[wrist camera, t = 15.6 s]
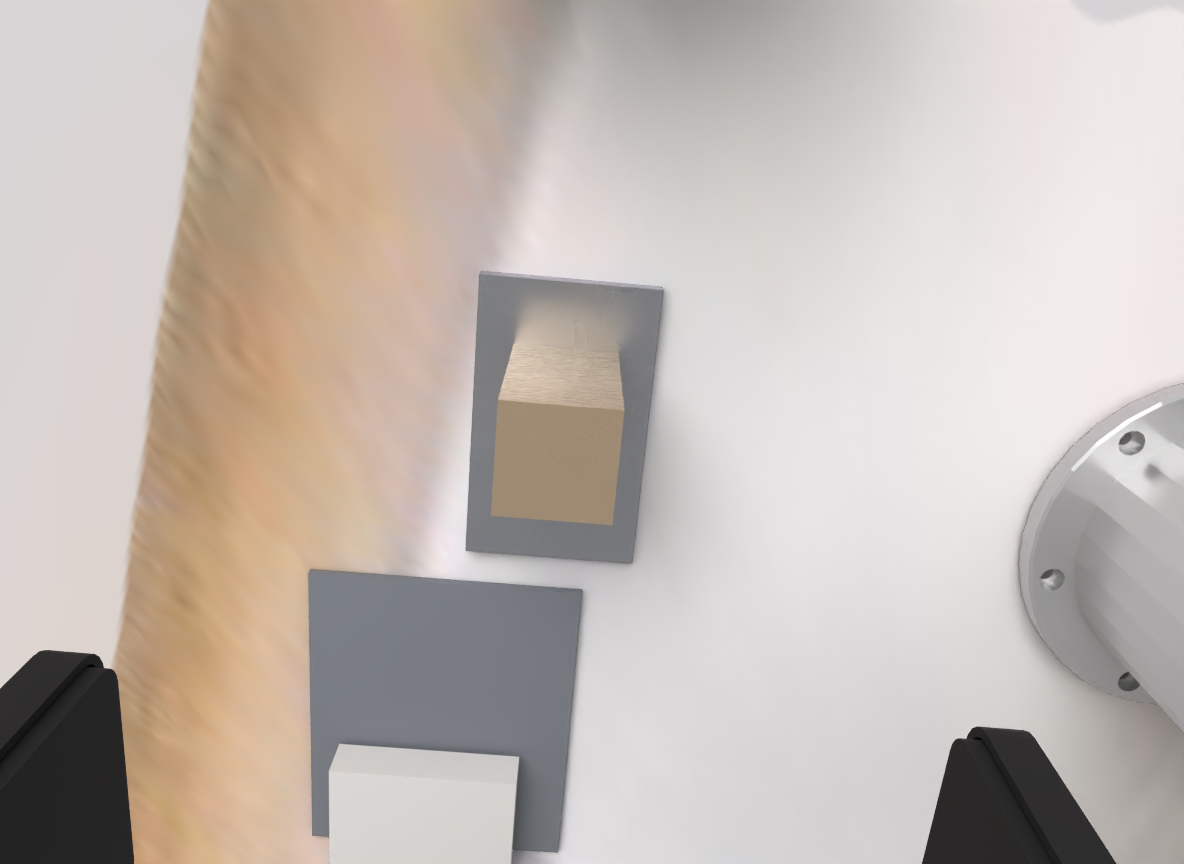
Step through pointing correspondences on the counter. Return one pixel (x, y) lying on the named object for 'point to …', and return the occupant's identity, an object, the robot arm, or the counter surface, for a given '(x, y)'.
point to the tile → (421, 806)
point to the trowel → (560, 415)
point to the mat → (445, 679)
